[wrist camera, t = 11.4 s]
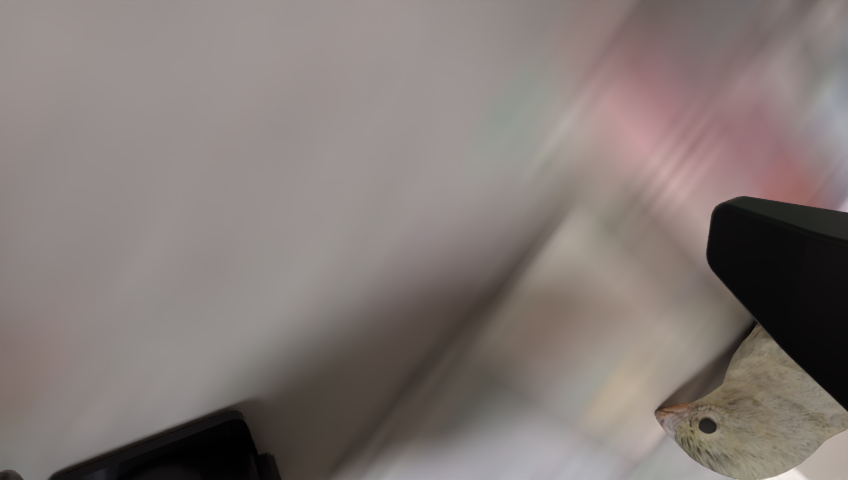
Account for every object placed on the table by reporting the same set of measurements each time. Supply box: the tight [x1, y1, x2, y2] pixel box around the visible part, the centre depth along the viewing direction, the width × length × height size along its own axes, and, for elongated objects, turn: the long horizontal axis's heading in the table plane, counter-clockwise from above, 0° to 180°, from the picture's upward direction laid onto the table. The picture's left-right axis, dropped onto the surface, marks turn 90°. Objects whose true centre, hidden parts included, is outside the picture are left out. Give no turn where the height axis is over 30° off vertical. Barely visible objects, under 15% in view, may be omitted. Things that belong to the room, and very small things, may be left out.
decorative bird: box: [654, 324, 848, 480], centre depth 31 cm, size 5×16×7 cm, turn 122°
